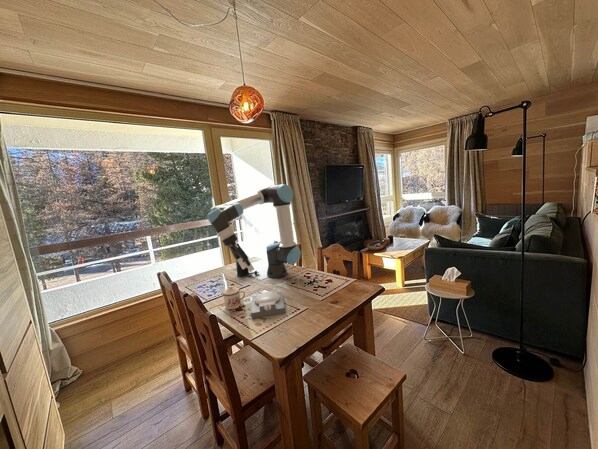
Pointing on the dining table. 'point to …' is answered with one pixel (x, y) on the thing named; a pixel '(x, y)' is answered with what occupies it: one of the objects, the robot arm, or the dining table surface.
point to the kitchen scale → (267, 304)
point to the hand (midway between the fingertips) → (248, 269)
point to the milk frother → (243, 270)
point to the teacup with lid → (232, 297)
